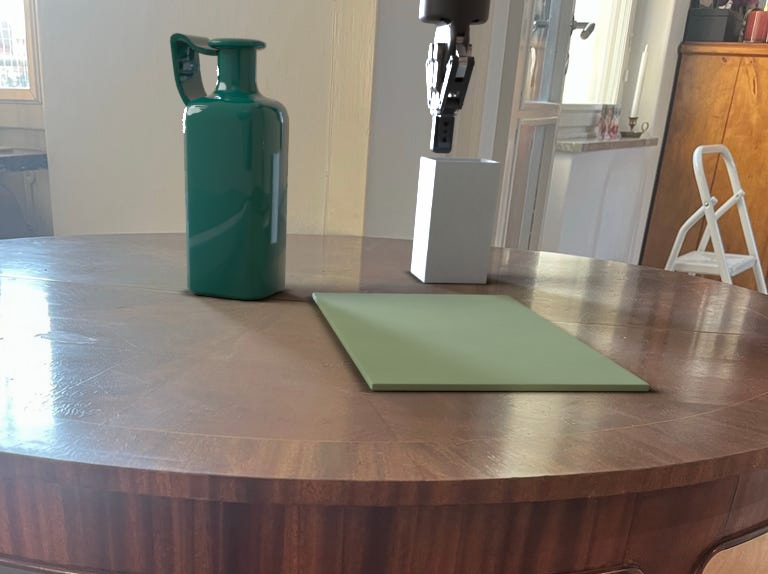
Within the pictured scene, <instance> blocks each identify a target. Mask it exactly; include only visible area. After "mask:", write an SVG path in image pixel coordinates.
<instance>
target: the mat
mask: <svg viewBox="0 0 768 574" xmlns="http://www.w3.org/2000/svg"><path fill="white" fill-rule="evenodd" d="M312 299H313V300H314V302H315V304H316V305H317V306H318V308H319V309H320V311H321V313H322V315H323V316H324V318H325V319H326V321H327V322H328V324H329V325H330V327H331V329H332V331H333V332H334V333H335V335H336V336H337V338H338V340H339V341H340V343H341V345H342V346H343V347H344V349H345V351H346V352H347V354H348V355H349V357H350V358H351V360H352V361H353V363H354V365H355V366H356V367H357V369H358V371H359V373H360V374H361V376H362V377H363V379H364V381H365V382H366V384H367V385H368V387H369V388H370V390H371V391H372V392H373V391H375V392H377V391H381V392H382V391H384V392H385V391H386V392H387V391H388V392H390V391H393V392H394V391H395V392H396V391H397V392H400V391H403V392H404V391H405V392H406V391H407V392H410V391H411V392H412V391H413V392H415V391H416V392H417V391H419V392H422V391H423V392H427V391H429V392H432V391H433V392H649V391H650V386H651V384H649V383H648V382H647V381H645V380H643V379H642V378H640V377H638V375H635V373H632V372H631V371H629V370H628V369H626V368H624V367H623V366H621V365H619V364H618V363H616V362H615V361H613V360H612V359H610V358H608V357H607V356H605V355H603V354H602V353H601V352H599V351H598V350H595V349H594V348H592V347H591V346H590V345H588V344H586V343H585V342H583V341H581V340H579V339H578V338H577V337H575V336H574V335H572V334H570V333H569V332H567V331H565V330H564V329H562V328H560V326H558V325H556V324H554V323H553V322H551V321H550V320H548V319H547V318H545V317H544V316H542V315H540V314H538V313H537V312H535V311H534V310H532V309H530V308H529V307H528V306H525V305H524V304H522V303H521V302H519V301H518V300H516V299H515V298H513V297H512V296H510V295H508V294H463V293H462V294H459V293H458V294H453V293H385V292H384V293H379V292H377V293H373V292H312Z"/></svg>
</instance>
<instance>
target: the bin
mask: <svg viewBox="0 0 768 574" xmlns="http://www.w3.org/2000/svg"><path fill="white" fill-rule="evenodd" d="M501 168H502V162H500V161H496V160H492V159H488V158H483V157H480V158H479V157H448V156H447V157H445V156H421V157H420V162H419V175H418V185H417V186H418V187H417V196H416V197H417V199H416V210H415V221H414V232H413V243H412V253H411V254H412V255H411V256H412V257H411V266H410V273H411V274H412V275H414V276H415V277H416V278H417V279H418V280H420V281H421V282H423V284H475V285H476V284H479V285H483V284H487V278H488V271H489V264H490V255H491V249H492V239H493V230H494V224H495V215H496V208H497V199H498V192H499V185H500V178H501V177H500V176H501Z"/></svg>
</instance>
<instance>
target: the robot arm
mask: <svg viewBox="0 0 768 574" xmlns="http://www.w3.org/2000/svg"><path fill="white" fill-rule="evenodd" d="M490 9H491V0H419V11H418V13H419V14H418V19H419V20H420V21H421V22H422V23H424V24H430V25H431V24H432V25H435V27H436V30H435V34H434V40H433V43H430V44H429V48H428V49H429V50H428V58H427V59H426V62H425V73H426V75H425V76H426V90H427V92H426V93H427V106H428V109H430V114H431V116H432V124H431V125H432V126H431V135H430V144H429V150H430V152H431V153H433V154H450V153H451V152H452V148H453V140H454V131H455V130H454V129H455V122H456V121H455V120H456V117H457V116H458V113H459V111H461V110H462V109H463V107H464V103H465V99H466V96H467V92H468V88H469V85H470V82H471V78H472V75H473V72H474V68H475V65H476V60H475V56H472V54H473V44H472V43H470V41H471V26H478V25H480V26H481V25H484V24H486V23H487V22H488V21H489V18H490Z"/></svg>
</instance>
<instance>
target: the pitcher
mask: <svg viewBox="0 0 768 574" xmlns="http://www.w3.org/2000/svg"><path fill="white" fill-rule="evenodd" d="M169 45H170V53H171V62H172V68H173V69H172V70H173V76H174V82H175V86H176V89H177V92H178V94H179V96H180V98H181V100H182V102H183V104H184V105H185V109H184V113H183V119H182V121H183V158H184V159H183V163H184V165H183V166H184V198H185V199H184V201H185V202H184V203H185V206H184V208H185V241H186V243H185V245H186V287H187V290H188V291H189V292H190V293H192V294H193V295H197V296H203V297H212V298H222V299H231V300H240V301H258V300H262V299H264V298H267V297H269V296H273V295H274V294H277V293H279V292H282V291H283V290H284V289H285V287H286V265H287V264H286V263H287V262H286V261H287V260H286V259H287V224H288V223H287V222H288V186H289V185H288V181H289V178H288V177H289V176H288V175H289V146H290V145H289V143H290V142H289V141H290V117H289V113H288V110H287V108H286V106H285V105H284V104H283V103H281V102H280V101H279V100H277V99H274V98H270V97H268V96H265V95H263V94H262V92H261V91H260V90H259V87H258V82H257V78H258V77H257V71H258V70H257V69H258V67H257V66H258V64H257V63H258V52H260V51H263V50H265V49H266V48H267V43H266V42H265V41H264V40H261V39H256V38H243V37H242V38H241V37H215V38H208V37H207V36H202V35H197V34H196V35H194V34H187V33H179V32H176V33H175V32H174V33H172V34H171V35H170V38H169ZM200 54H201V55H203V56H209V57H216V58H217V82H216V85H215V88H214V89H213V91H212V92H211V93H209V94H207V92H206V90H205V87H204V83H203V79H202V72H201V61H200Z"/></svg>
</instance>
